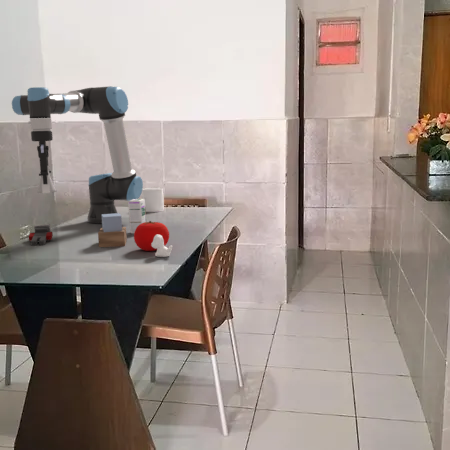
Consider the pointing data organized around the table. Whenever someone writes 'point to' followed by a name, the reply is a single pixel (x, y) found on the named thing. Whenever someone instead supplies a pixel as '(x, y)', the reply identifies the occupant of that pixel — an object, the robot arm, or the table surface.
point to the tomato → (150, 234)
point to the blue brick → (111, 222)
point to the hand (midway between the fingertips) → (46, 191)
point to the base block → (112, 238)
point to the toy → (40, 234)
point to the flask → (52, 187)
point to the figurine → (161, 247)
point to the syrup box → (136, 213)
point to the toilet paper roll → (153, 199)
